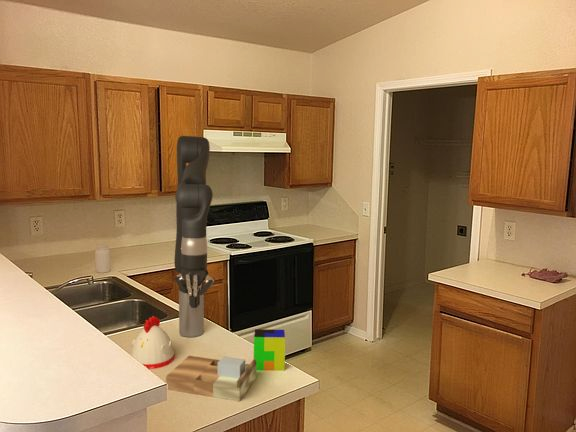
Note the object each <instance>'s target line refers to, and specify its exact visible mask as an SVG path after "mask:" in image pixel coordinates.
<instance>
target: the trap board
mask: <svg viewBox="0 0 576 432" xmlns="http://www.w3.org/2000/svg"><path fill="white" fill-rule="evenodd" d="M256 360H257V359H254V358H253V359H252V361H251V362H250V363H245V371H244V373H243V374H242V375H241V376H240V378H232V377H226V376H219V375H218V362H219V361H220V359H216V358H208V357H203V356H202V357H201V356H194V355H188V356H187V357H186V358H184V360H182V361H181V362H180V363H178V365H176V366H175V368H173V370H172V371H170V372H169V373H168V374H167V375H166V376H165V384H166V383H167V384H168V389H169V391H174V390H175V392H181V393H186V394H193V395H197V396H198V395H199V396H206V397H212V398H217V399H223V400H229V401H236V402H241V400H242V399H243V397H244V395H246V392H247V391H248V390H249V389H250V388H251V385H252V384H253V383H254V381H255V380H256V379H257V370H256ZM168 389H167V390H168Z"/></svg>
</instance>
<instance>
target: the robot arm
mask: <svg viewBox="0 0 576 432" xmlns="http://www.w3.org/2000/svg"><path fill="white" fill-rule="evenodd" d="M210 147H211V146H210V142H209V140H208V139H207V138H206V137H205V136H204V137H203V136H195V135H194V136H193V135H192V136H191V135H180V136H179V137H178V138H177V142H176V168H177V169H176V171H177V188H176V191H175V202H176V205H175V206H176V207H175V208H176V211H175V213H176V218H175V221H176V237H175V248H174V249H175V250H174V270H175V271H176V272H177V273H179V274H177V275H175V276H173V280H174V282H176V284H177V286H178V330H179V331H178V333H179V335H180V336H181V337H184V338H196V337H199V336H202V335H203V334H204V331H205V328H204V327H205V323H204V322H205V321H204V320H205V319H204V316H205V309H204V306H205V305H204V303H205V301H204V299H205V297H204V295H205V293H207V291H208V290H209V289H210V288H211V287H212V285H213V284H214V283H215V281H216V279H215V278H214V277H211V276H210V274H209V272H208V271H209V270H208V240H207V239H208V238H207V222H208V214H209V211H210V208H211V204H212V202H213V196H214V195H213V189H212V187H210V185H208V184H207V169H208V166H209V159H210V149H211V148H210ZM204 281H205V282H204ZM204 283H205V284H204Z"/></svg>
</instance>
